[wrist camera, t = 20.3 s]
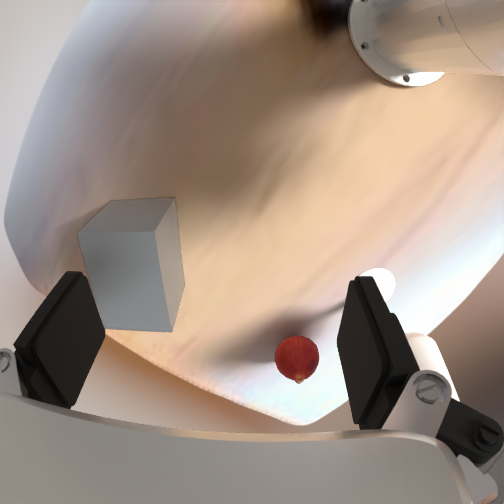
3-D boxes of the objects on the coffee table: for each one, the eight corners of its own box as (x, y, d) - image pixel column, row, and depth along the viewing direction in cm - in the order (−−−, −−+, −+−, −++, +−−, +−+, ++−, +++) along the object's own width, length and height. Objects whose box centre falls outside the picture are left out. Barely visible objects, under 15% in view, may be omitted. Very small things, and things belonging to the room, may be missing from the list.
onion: (311, 319, 42) (321, 362, 35) (316, 347, 45) (326, 390, 38) (269, 328, 43) (273, 373, 36) (277, 356, 45) (282, 399, 38)
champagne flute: (344, 310, 42) (399, 473, 20) (354, 267, 38) (432, 437, 17) (388, 309, 42) (457, 456, 21) (400, 267, 39) (494, 417, 17)
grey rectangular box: (111, 200, 34) (76, 233, 26) (175, 197, 34) (154, 231, 26) (127, 283, 39) (104, 328, 31) (185, 284, 39) (172, 332, 31)
